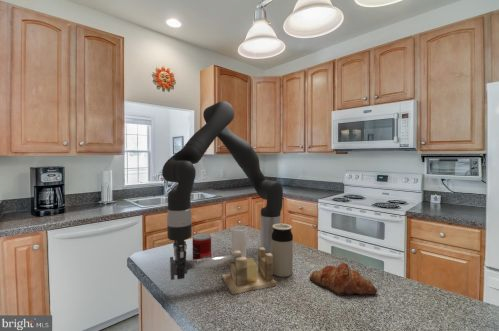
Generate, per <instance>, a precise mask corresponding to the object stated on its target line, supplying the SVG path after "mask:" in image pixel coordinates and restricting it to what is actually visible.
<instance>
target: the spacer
mask: <svg viewBox="0 0 499 331" xmlns="http://www.w3.org/2000/svg"><path fill="white" fill-rule="evenodd" d="M246 258H247V283H249V282H255V281H257V269H258V263H257V262H256V261H255V260H254V259H253V258H252V257H246Z"/></svg>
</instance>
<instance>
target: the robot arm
mask: <svg viewBox="0 0 499 331" xmlns="http://www.w3.org/2000/svg"><path fill="white" fill-rule="evenodd" d="M203 110H204V111H203V113H202V114H203V119H204V122H205V123H204V125H203V126H202V127H201V128H200V129H198V130H197V131H196V132H195V133H194V134H193V135H192V136H191V137H190V138H189V139H188V140H187V142H185V144H184V146H183V147H182V148H181V149H180V150H178V151H176V152H175V154H173V155H172V156H171V157H169V158H168V160H166V162H165V163H164V164H163V166H162V170H161V175H162V177H163V180H165V181H167V182H168V183H177V187H176V189H172V190H170V191H169V192H168V195H167V216H166V218H167V219H166V220H167V222H166V223H167V224H166V225H167V227H166V228H167V229H166V230H167V235H166V236H167V239H168V240H169V241H172V245H173V255H174V260H176V261H177V265H176V267H177V275H176V277H177V278H176V279H177V280H183V279H185V275H186V274H185V270H184V267H186V261H187V249H188V245H187V241H186V240H188V239H191V238H192V237H193V236H192V235H193V232H192V231H193V227H192V222H193V221H192V209H191V207H192V205H191V196H192V191H193V188H194V183H195V180H196V176H197V175H196V174H197V173H196V167H195V165H196V164H198V163H199V162H200V161H201V159H202V158H203V157H204V155H205V153H206V152H207V151H208V150H209V147H210V146H212V143H213V142H214V141H215V139H217V138H218V139H219V140H220V142H221V143H222V144H223V146H225V148H226V150H227V151H228V153H230V155H231V156H232V158H233V159H234V161H235V162H236V163H237V165H238V167H240V169H241V170H242V171H243V173H244V175H245V176H246V177H247V178H248V180H249V181H250V184H252V186H253V188H254V190H255V192H256V194H257V195H258V197H260V198H261V199H262V200H266V205H265V207H262V208H261V209H260V248H261V247H263V248H265V254H266V253H271V254H272V233H273V227H272V226H273V225H274V224H281V211H282V210H283V200H284V199H283V198H284V189H283V185H282V183H280V182H279V181H278V180H277V181H275V180H271V179H270V180H268V179H267V178H266V176H265V175H264V173H263V172H262V171H261V166H260V160H259V156H258V154H257V152H256V151H255V150H254V148H253V147H252V144H250V143H249V142H248V141H247V140H245V139H243V138H242V137H240V136H238V135H236V134H235V133H234V132H233V131H232V130H230V128H229V127H228V126H229V125H230V124H231V123H232V121H233V120H234V118H235V111H234V107H233V106H232V104H231V103H229V102H228V101H226V100H225V101H223V100H221V101H218V102H216V103H213V104H211V105H210V106H208V107H206V108H205V109H203ZM180 262H183V263H180Z"/></svg>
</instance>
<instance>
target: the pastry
mask: <svg viewBox="0 0 499 331" xmlns="http://www.w3.org/2000/svg"><path fill="white" fill-rule="evenodd" d="M309 280H310V281H311V282H312V283H314V284H317V285H319V286H320V287H323V288H326V289H328V290H329V291H332V292H333V293H335V294H337V295H344V296H352V295H360V296H362V295H363V296H365V295H366V296H367V295H369V296H374V295H377V293H378V289H377V288H376V287H375V285H374V284H373V282H372V281H370V279H367V278H364V277H363V276H362V275H361V274H360V273H359V271H357V270H355V269H350V267H349V265H348V263H345V262H341V263H339V265H338V266H333V265H326V266H325V267H323V268H322V269H319V270H314V271H313V272H311V274H310V275H309Z"/></svg>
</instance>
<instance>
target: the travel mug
mask: <svg viewBox="0 0 499 331" xmlns="http://www.w3.org/2000/svg"><path fill="white" fill-rule="evenodd" d="M272 227H273V233H272V255H273V276H277V277H281V278H286V277H290V276H292V274H293V271H294V269H293V266H294V265H293V261H294V258H293V253H294V252H293V248H294V243H293V242H294V238H293V237H294V236H293V233H292V229H293V226H292V225H291V224H288V223H280V224H274V225H273V226H272Z"/></svg>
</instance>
